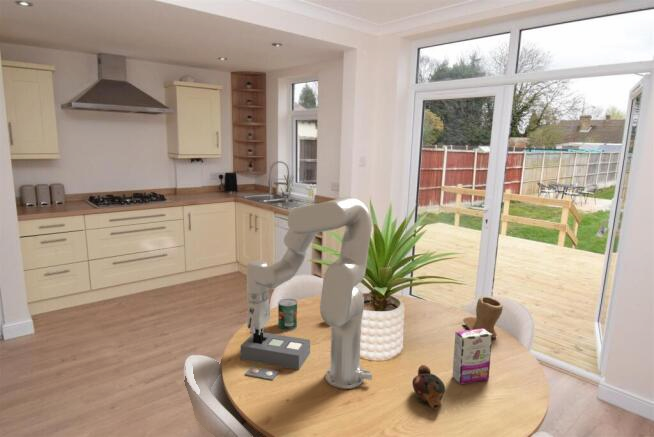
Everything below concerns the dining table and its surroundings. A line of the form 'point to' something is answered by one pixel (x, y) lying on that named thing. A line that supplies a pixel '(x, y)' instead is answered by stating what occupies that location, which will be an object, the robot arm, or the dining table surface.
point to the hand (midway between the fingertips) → (258, 342)
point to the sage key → (276, 343)
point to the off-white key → (294, 346)
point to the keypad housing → (276, 351)
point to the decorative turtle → (428, 387)
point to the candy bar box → (472, 355)
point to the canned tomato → (287, 314)
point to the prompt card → (261, 373)
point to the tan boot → (485, 315)
